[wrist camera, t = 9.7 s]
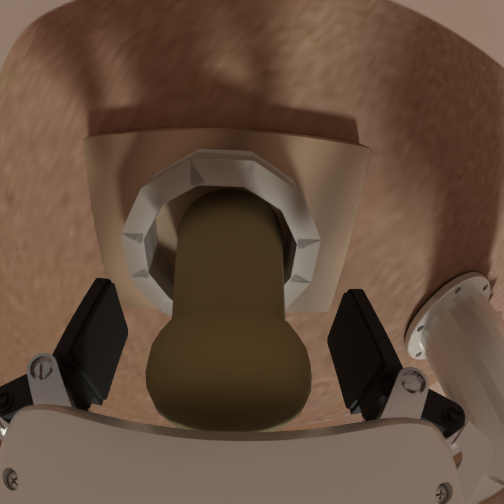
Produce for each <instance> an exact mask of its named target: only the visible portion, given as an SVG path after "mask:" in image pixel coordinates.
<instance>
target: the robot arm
mask: <svg viewBox="0 0 504 504" xmlns="http://www.w3.org/2000/svg"><path fill="white" fill-rule="evenodd" d="M490 289H491V288H490V283H489V281H488V280H487V279H486V278H485V277H484V276H483V275H482V274H481V273H478V272H470V273H466V274H463V275H461V276H459V277H457V278H455V279H453V280H452V281H450V282H449V283H447V284H446V285H445V286H443V287H442V288H441V289H440V290H438V291H437V292H436V293H435V294H434V295H433V296H432V297H431V298H430V299H429V300H428V301H427V302H426V303H425V304H424V306H423V307H422V308H421V309H420V311H419V312H418V313H417V315H416V316H415V317H414V319H413V321H412V322H411V324H410V326H409V328H408V331H407V333H406V337H405V347H406V350H407V352H408V353H409V355H410V356H411V357H412V358H414V359H427V360H428V362H429V364H430V366H431V367H432V369H433V371H434V373H435V375H436V377H437V379H438V381H439V383H440V385H441V387H442V389H443V391H444V393H445V395H446V397H447V398H446V397H444V396H442V395H440V394H438V393H436V392H434V391H433V390H430V389H429V381H428V378H427V377H426V375H425V374H424V373H423V372H422V371H421V370H419V369H417V368H414V367H406V368H404V369H403V367H402V365H401V363H400V360H399V358H398V356H397V354H396V352H395V350H394V348H393V346H392V344H391V342H390V340H389V338H388V336H387V334H386V332H385V330H384V328H383V326H382V324H381V322H380V321H379V319H378V317H377V315H376V313H375V311H374V309H373V307H372V305H371V303H370V302H369V300H368V298H367V296H366V294H365V292H364V291H363V290H362V289H349V290H348V291H347V293H344V294H343V297H342V300H341V302H340V305H339V308H338V311H337V314H336V316H335V319H334V322H333V325H332V327H331V330H330V332H329V335H328V347H329V350H330V353H331V356H332V360H333V363H334V367H335V370H336V374H337V377H338V381H339V384H340V388H341V391H342V395H343V399H344V402H345V406H346V408H348V409H349V408H350V412H351V415H352V414H357V413H362V417H363V420H362V422H359V423H352V424H346V425H340V426H332V427H324V428H316V429H306V430H295V431H280V432H215V431H200V430H188V429H179V428H170V427H163V426H156V425H149V424H143V423H138V422H133V421H128V420H123V419H118V418H113V417H109V416H104V415H100V414H96V413H92V412H91V410H90V406H91V403H93V404H97V405H101V406H102V403H103V400H106V399H107V397H108V393H109V390H110V387H111V384H112V380H113V377H114V374H115V371H116V368H117V365H118V362H119V359H120V356H121V353H122V350H123V347H124V345H125V342H126V339H127V336H128V328H127V325H126V321H125V318H124V315H123V312H122V308H121V305H120V301H119V298H118V294H117V290H116V287H115V284H114V283H112V282H111V280H110V279H105V278H96V280H95V281H94V283H93V284H92V286H91V287H90V289H89V290H88V292H87V294H86V295H85V297H84V299H83V300H82V302H81V304H80V305H79V307H78V309H77V310H76V312H75V314H74V315H73V317H72V319H71V321H70V323H69V324H68V326H67V328H66V330H65V332H64V333H63V335H62V337H61V339H60V341H59V343H58V345H57V347H56V349H55V351H54V353H53V355H51V354H49V353H40V354H38V355H36V356H34V357H33V358H32V359H31V360H30V362H29V363H28V366H27V374H25V375H23V376H21V377H19V378H17V379H15V380H13V381H11V382H9V383H7V384H5V385H3V386H1V387H0V504H465V503H466V501H467V500H468V498H469V497H470V495H471V494H472V492H473V491H474V489H475V488H476V486H477V484H478V483H479V481H480V479H481V478H482V476H485V477H486V478H488V479H490V480H492V481H494V482H497V483H499V484H501V485H504V320H503V319H502V318H503V314H502V312H501V311H496V310H495V309H494V307H493V306H492V305H491V304H490V302H489V297H490ZM475 504H504V487H503V488H501V489H500V490H499V491H497V492H496V493H493V494H492V495H490V496H488V497H486V498H484V499H483V500H481V501H479V502H477V503H475Z"/></svg>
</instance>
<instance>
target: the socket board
mask: <svg viewBox="0 0 504 504" xmlns="http://www.w3.org/2000/svg"><path fill="white" fill-rule="evenodd" d="M84 140H85V155H86V166H87V176H88V184H89V192H90V199H91V206H92V212H93V218H94V223H95V229H96V234H97V239H98V243H99V248H100V253H101V257H102V261H103V265H104V269H105V273H106V277H107V279H110V280H111V282H112V283H114V284H115V287H116V290H117V294H118V298H119V301H120V305H121V306H131V307H143V308H156V309H158V310H160V311H162V312H164V313H166V314H169V315H171V316H172V308H173V290H174V275H175V262H176V251H177V240H178V231H179V226H180V223H181V220H182V217H183V214H184V213H185V212H186V210H187V209H188V208H189V206H190V205H191V204H192V203H193V202H194V201H195V200H197V199H198V198H200V197H202V196H203V195H205V194H206V193H209V192H213V191H216V190H220V189H242V190H244V191H247V192H250V193H252V194H255V195H258V196H259V197H260V198H261V199H263V200H264V201H265V202H266V203H268V204H269V205H270V206H271V207H272V209H273V211H274V212H275V214H276V215H277V217H278V219H279V223H280V227H281V232H282V249H283V270H284V295H285V313H301V312H329V309H330V306H331V303H332V300H333V297H334V294H335V291H336V288H337V285H338V282H339V278H340V275H341V272H342V268H343V265H344V262H345V258H346V255H347V251H348V247H349V244H350V240H351V236H352V233H353V229H354V225H355V221H356V217H357V213H358V208H359V204H360V200H361V195H362V191H363V186H364V181H365V177H366V172H367V167H368V161H369V156H370V150H371V148H369V147H366V146H364V145H362V144H359V143H354V142H348V141H343V140H337V139H331V138H325V137H318V136H311V135H303V134H295V133H286V132H276V131H265V130H252V129H233V128H160V129H142V130H129V131H118V132H109V133H101V134H95V135H92V136H89V137H86V138H84Z"/></svg>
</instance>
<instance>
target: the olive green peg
mask: <svg viewBox="0 0 504 504" xmlns="http://www.w3.org/2000/svg"><path fill="white" fill-rule="evenodd" d="M311 381H312V374H311V367H310V361H309V357H308V354H307V350H306V347H305V346H304V344H303V343H302V341H301V339H300V338H299V336H298V335H297V334H296V332H295V331H294V330H293V328H292V327H291V326H290V325H289V323H288V322H286V321H285V295H284V270H283V249H282V232H281V227H280V223H279V219H278V217H277V215H276V214H275V212H274V211H273V209H272V207H271V206H270V205H269V204H268V203H266V202H265V201H264V200H263V199H261V198H260V197H259V196H258V195H255V194H252V193H250V192H247V191H244V190H242V189H220V190H216V191H213V192H209V193H206V194H205V195H203V196H202V197H200V198H198V199H197V200H195V201H194V202H193V203H192V204H191V205H190V206H189V208H188V209H187V210H186V212H185V213H184V214H183V217H182V220H181V223H180V226H179V231H178V240H177V251H176V262H175V275H174V290H173V308H172V319H171V320H170V321H169V322H168V323H167V325H166V326H165V327H164V328H163V329H162V330H161V331H160V333H159V334H158V336H157V337H156V339H155V341H154V342H153V344H152V347H151V351H150V355H149V359H148V363H147V368H146V385H147V390H148V392H149V394H150V396H151V399H152V401H153V403H154V405H155V407H156V409H157V411H158V413H159V414H160V415H162V416H163V417H164V418H165V419H166V420H168V421H169V422H170V423H172V424H173V425H175V426H177V427H179V428H181V429H188V430H200V431H215V432H273V431H275V430H277V429H280V428H282V427H283V426H285V425H287V424H288V423H289V422H291V421H292V420H293V419H295V418H296V417H297V416H299V415H300V413H301V411H302V409H303V407H304V406H305V403H306V401H307V399H308V397H309V395H310V392H311Z"/></svg>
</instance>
